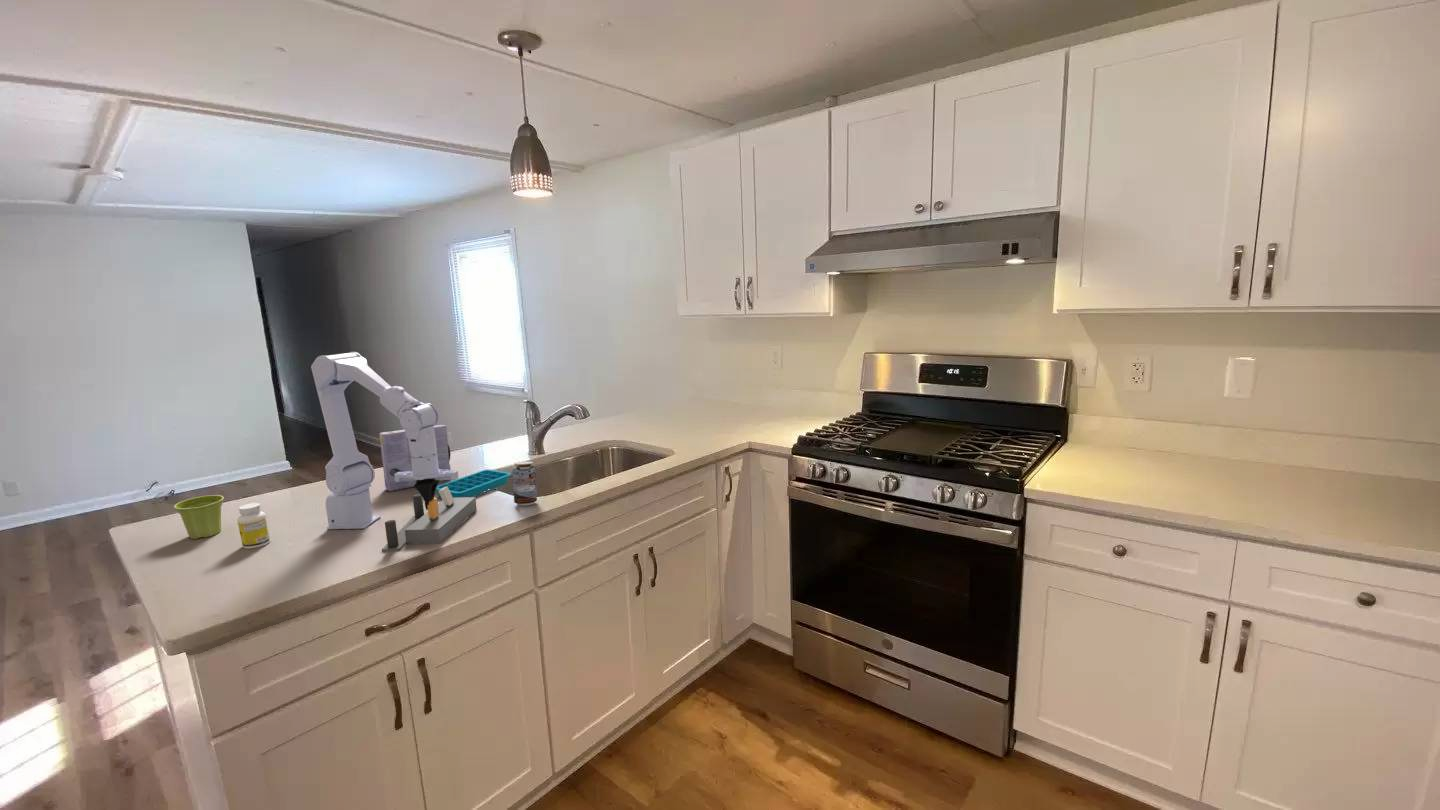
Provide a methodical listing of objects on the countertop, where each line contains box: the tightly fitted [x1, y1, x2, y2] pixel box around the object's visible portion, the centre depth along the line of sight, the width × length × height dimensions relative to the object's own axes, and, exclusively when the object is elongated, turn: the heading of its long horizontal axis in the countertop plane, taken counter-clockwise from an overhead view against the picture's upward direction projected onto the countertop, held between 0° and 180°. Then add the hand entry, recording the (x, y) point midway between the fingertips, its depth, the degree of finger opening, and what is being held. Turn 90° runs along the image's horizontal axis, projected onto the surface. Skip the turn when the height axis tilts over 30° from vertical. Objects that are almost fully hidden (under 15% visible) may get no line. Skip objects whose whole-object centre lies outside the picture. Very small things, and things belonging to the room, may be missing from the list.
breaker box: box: [405, 496, 478, 545], centre depth 152 cm, size 8×22×4 cm, turn 0°
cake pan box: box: [379, 424, 451, 492], centre depth 185 cm, size 19×5×18 cm, turn 130°
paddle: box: [438, 486, 454, 508], centre depth 156 cm, size 1×3×5 cm, turn 0°
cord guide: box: [381, 493, 425, 553], centre depth 148 cm, size 4×21×7 cm, turn 8°
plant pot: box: [173, 494, 225, 540], centre depth 149 cm, size 9×9×9 cm
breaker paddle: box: [427, 497, 439, 521], centre depth 147 cm, size 1×3×5 cm, turn 0°
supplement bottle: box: [236, 502, 271, 550], centre depth 142 cm, size 5×5×10 cm
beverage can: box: [512, 461, 538, 506], centre depth 166 cm, size 6×7×12 cm
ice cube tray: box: [436, 469, 512, 498], centre depth 180 cm, size 12×20×3 cm, turn 153°
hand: (430, 508), depth 147 cm, fingers closed, pressing on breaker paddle
